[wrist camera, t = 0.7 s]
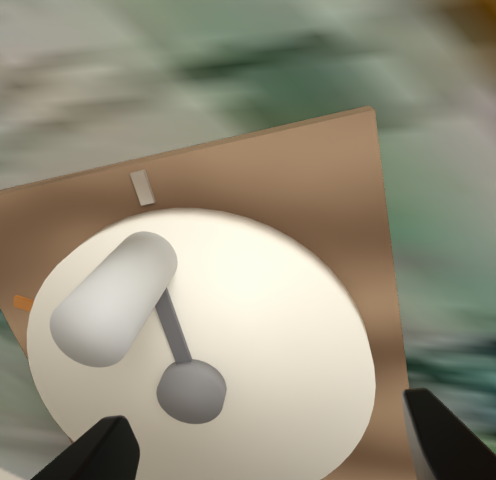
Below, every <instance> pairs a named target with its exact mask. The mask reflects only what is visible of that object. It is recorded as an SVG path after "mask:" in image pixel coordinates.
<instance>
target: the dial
mask: <svg viewBox="0 0 496 480" xmlns="http://www.w3.org/2000/svg"><path fill="white" fill-rule="evenodd" d="M27 354H28V360H29V366H30V370H31V373H32V376H33V380H34V383H35V386H36V388H37V390H38V392H39V394H40V396H41V399H42V401H43V402H44V404H45V406H46V407H47V409H48V411H49V412H50V414H51V415H52V417H53V418H54V419H55V421H56V422H57V423H58V425H59V426H60V427H61V428H62V430H63V431H64V432H65V433H66V434H67V435H68V436H69V437H70V438H71V439H72V440H73V441H74V442H75V441H76V440H77V439H78V438H80V437H81V436H82V435H83V434H84V433H85V432H86V431H88V430H89V429H90V428H91V427H92V426H93V425H95V424H96V423H97V422H98V421H99V420H100V419H102V418H104V417H107V416H116V415H122V416H125V417H126V418H127V419H128V421H129V423H130V426H131V428H132V430H133V432H134V435H135V437H136V439H137V441H138V443H139V447H140V460H139V464H138V469H137V474H136V478H135V480H321V479H323V478H324V477H326V476H327V475H328V474H329V473H331V472H332V471H333V470H335V469H336V468H337V467H339V466H340V464H341V463H342V462H343V461H344V460H345V459H346V458H347V457H348V456H349V455H350V454H351V453H352V451H353V450H354V449H355V447H356V446H357V444H358V443H359V441H360V440H361V438H362V436H363V434H364V432H365V430H366V428H367V426H368V424H369V421H370V417H371V414H372V410H373V407H374V399H375V389H376V383H375V370H374V363H373V359H372V354H371V350H370V345H369V341H368V337H367V333H366V329H365V325H364V322H363V320H362V317H361V315H360V313H359V310H358V308H357V305H356V304H355V302H354V300H353V299H352V297H351V295H350V294H349V292H348V291H347V289H346V287H345V286H344V285H343V283H342V282H341V281H340V280H339V279H338V277H337V276H336V275H335V274H334V272H333V271H332V270H331V269H330V268H329V267H328V266H327V265H326V264H325V263H324V262H323V261H322V260H320V259H319V258H318V257H317V256H316V255H315V254H314V253H313V252H311V251H310V250H309V249H307V248H306V247H304V246H303V245H302V244H300V243H299V242H297V241H296V240H295V239H293V238H291V237H289V236H288V235H286V234H284V233H282V232H280V231H278V230H276V229H275V228H273V227H271V226H268V225H266V224H263V223H261V222H258V221H255V220H253V219H250V218H248V217H244V216H240V215H236V214H232V213H228V212H224V211H218V210H210V209H203V208H169V209H161V210H153V211H148V212H144V213H140V214H137V215H133V216H129V217H127V218H124V219H122V220H120V221H117V222H115V223H113V224H110V225H108V226H107V227H105V228H103V229H102V230H100V231H99V232H97V233H95V234H94V235H92V236H91V237H90V238H88V239H87V240H86V241H85V242H83V243H82V244H81V245H80V246H79V247H77V248H76V249H75V250H74V251H73V252H71V253H70V254H69V255H68V256H67V257H66V258H65V259H63V260H62V261H61V262H60V263H59V264H58V265H57V266H56V267H55V268H54V269H53V271H52V272H51V273H50V274H49V276H48V277H47V278H46V279H45V281H44V282H43V284H42V286H41V288H40V290H39V292H38V293H37V295H36V297H35V300H34V303H33V306H32V309H31V312H30V315H29V321H28V327H27Z"/></svg>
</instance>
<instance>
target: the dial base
mask: <svg viewBox="0 0 496 480" xmlns="http://www.w3.org/2000/svg"><path fill="white" fill-rule="evenodd" d="M169 208H203V209H210V210H218V211H224V212H228V213H232V214H236V215H240V216H244V217H248V218H250V219H253V220H255V221H258V222H261V223H263V224H266V225H268V226H271V227H273V228H275V229H276V230H278V231H280V232H282V233H284V234H286V235H288V236H289V237H291V238H293V239H295V240H296V241H297V242H299V243H300V244H302V245H303V246H304V247H306V248H307V249H309V250H310V251H311V252H313V253H314V254H315V255H316V256H317V257H318V258H319V259H320V260H322V261H323V262H324V263H325V264H326V265H327V266H328V267H329V268H330V269H331V270H332V271H333V272H334V274H335V275H336V276H337V277H338V279H339V280H340V281H341V282H342V283H343V285H344V286H345V287H346V289H347V291H348V292H349V294H350V295H351V297H352V299H353V300H354V302H355V304H356V305H357V308H358V310H359V313H360V315H361V317H362V320H363V322H364V325H365V329H366V333H367V337H368V341H369V345H370V350H371V354H372V359H373V363H374V370H375V383H376V389H375V399H374V407H373V410H372V414H371V417H370V421H369V424H368V426H367V428H366V430H365V432H364V434H363V436H362V438H361V440H360V441H359V443H358V444H357V446H356V447H355V449H354V450H353V451H352V453H351V454H350V455H349V456H348V457H347V458H346V459H345V460H344V461H343V462H342V463H341V464H340V466H339V467H337V468H336V469H335V470H333V471H332V472H331V473H329V474H328V475H327V476H326V477H324V478H323V479H321V480H417V476H416V471H415V467H414V463H413V459H412V455H411V450H410V446H409V442H408V437H407V432H406V427H405V419H404V412H403V404H402V395H401V393H402V391H403V390H405V389H409V384H408V376H407V368H406V360H405V351H404V343H403V335H402V327H401V319H400V311H399V303H398V295H397V287H396V278H395V270H394V262H393V254H392V246H391V238H390V230H389V222H388V213H387V205H386V197H385V189H384V181H383V173H382V165H381V157H380V149H379V140H378V132H377V124H376V116H375V110H374V109H373V108H372V107H370V106H364V107H360V108H356V109H351V110H347V111H343V112H338V113H334V114H330V115H325V116H321V117H317V118H312V119H308V120H303V121H299V122H295V123H290V124H286V125H282V126H277V127H273V128H269V129H264V130H260V131H255V132H251V133H247V134H242V135H238V136H234V137H229V138H225V139H221V140H216V141H212V142H208V143H203V144H199V145H194V146H190V147H186V148H181V149H177V150H173V151H168V152H164V153H160V154H155V155H151V156H147V157H142V158H138V159H133V160H129V161H125V162H120V163H116V164H112V165H107V166H103V167H99V168H94V169H90V170H86V171H81V172H77V173H72V174H68V175H64V176H59V177H55V178H51V179H46V180H42V181H38V182H33V183H29V184H25V185H20V186H16V187H11V188H7V189H3V190H0V308H1V310H2V312H3V314H4V316H5V318H6V320H7V322H8V324H9V325H10V327H11V329H12V331H13V333H14V335H15V337H16V339H17V340H18V342H19V344H20V346H21V348H22V350H23V352H24V354H25V355H26V357H27V359H28V354H27V327H28V321H29V315H30V312H31V309H32V306H33V303H34V300H35V297H36V295H37V293H38V292H39V290H40V288H41V286H42V284H43V282H44V281H45V279H46V278H47V277H48V276H49V274H50V273H51V272H52V271H53V269H54V268H55V267H56V266H57V265H58V264H59V263H60V262H61V261H62V260H63V259H65V258H66V257H67V256H68V255H69V254H70V253H71V252H73V251H74V250H75V249H76V248H77V247H79V246H80V245H81V244H82V243H83V242H85V241H86V240H87V239H88V238H90V237H91V236H92V235H94V234H95V233H97V232H99V231H100V230H102V229H103V228H105V227H107V226H108V225H110V224H113V223H115V222H117V221H120V220H122V219H124V218H127V217H129V216H133V215H137V214H140V213H144V212H148V211H153V210H161V209H169ZM28 361H29V360H28ZM69 438H70V437H69ZM70 440H71V442H72V444H73V443H74V441H73V440H72V439H71V438H70Z"/></svg>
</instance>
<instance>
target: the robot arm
mask: <svg viewBox="0 0 496 480" xmlns="http://www.w3.org/2000/svg"><path fill="white" fill-rule="evenodd" d="M401 395H402V404H403V412H404V419H405V427H406V432H407V437H408V442H409V446H410V450H411V455H412V459H413V463H414V467H415V471H416V476H417V480H496V454H495V453H494V452H493V451H491V450H490V449H489V448H488V447H487V446H486V445H485V444H484V443H483V442H482V441H481V440H480V439H479V438H478V437H477V436H476V435H475V434H474V433H473V432H472V431H471V430H470V429H469V428H468V427H467V426H466V425H465V424H464V423H463V422H462V421H461V420H460V419H458V418H457V417H456V416H455V415H454V414H453V413H452V412H451V411H450V410H449V409H448V408H447V407H446V406H445V405H444V404H443V403H442V402H441V401H440V400H439V399H438V398H437V397H436V396H435V395H434V394H433V393H432V392H431V391H429V390H428V389H426V388H414V389H405V390H403V391H402V393H401ZM139 460H140V447H139V443H138V441H137V439H136V437H135V435H134V432H133V430H132V428H131V426H130V423H129V421H128V419H127V418H126V417H125V416H122V415H116V416H107V417H104V418H102V419H100V420H99V421H98V422H97V423H96V424H95V425H93V426H92V427H91V428H90V429H89V430H88V431H86V432H85V433H84V434H83V435H82V436H81V437H80V438H78V439H77V440H76V441H75V442H74V443H73V444H71V445H70V446H69V447H68V448H67V449H66V450H64V451H63V452H62V453H61V454H60V455H59V456H57V457H56V458H55V459H54V460H53V461H52V462H51V463H49V464H48V465H47V466H46V467H45V468H44V469H42V470H41V471H40V472H39V473H38V474H37V475H35V476H34V477H33V478H32V479H31V480H135V478H136V474H137V469H138V464H139Z"/></svg>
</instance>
